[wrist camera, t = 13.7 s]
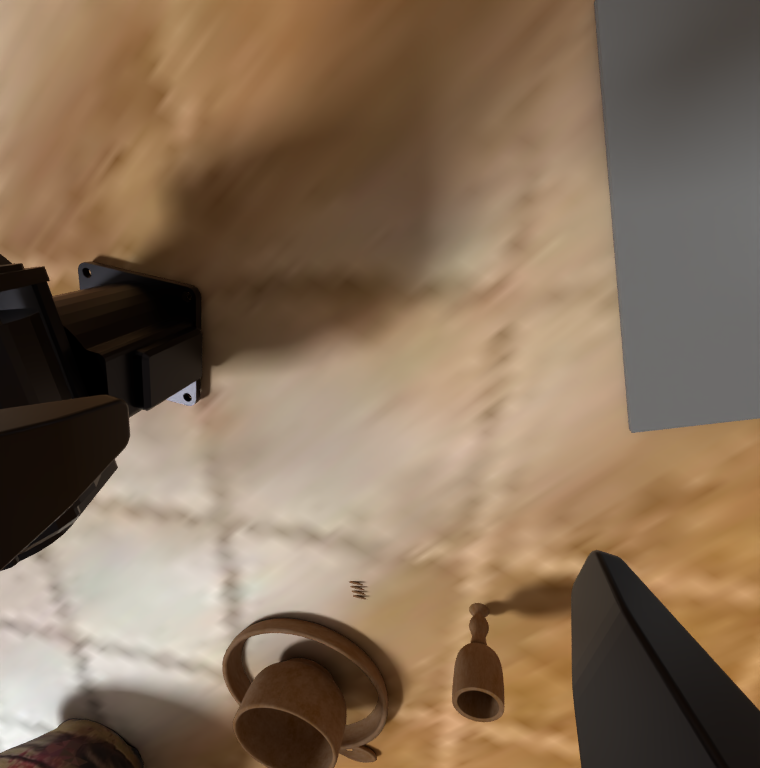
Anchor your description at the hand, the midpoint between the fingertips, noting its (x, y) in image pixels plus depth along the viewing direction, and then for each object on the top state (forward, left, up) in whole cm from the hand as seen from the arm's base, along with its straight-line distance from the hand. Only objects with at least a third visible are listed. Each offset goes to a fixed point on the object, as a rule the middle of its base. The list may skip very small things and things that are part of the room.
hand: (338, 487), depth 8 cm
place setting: (+1, -26, -14) cm, 29 cm away
